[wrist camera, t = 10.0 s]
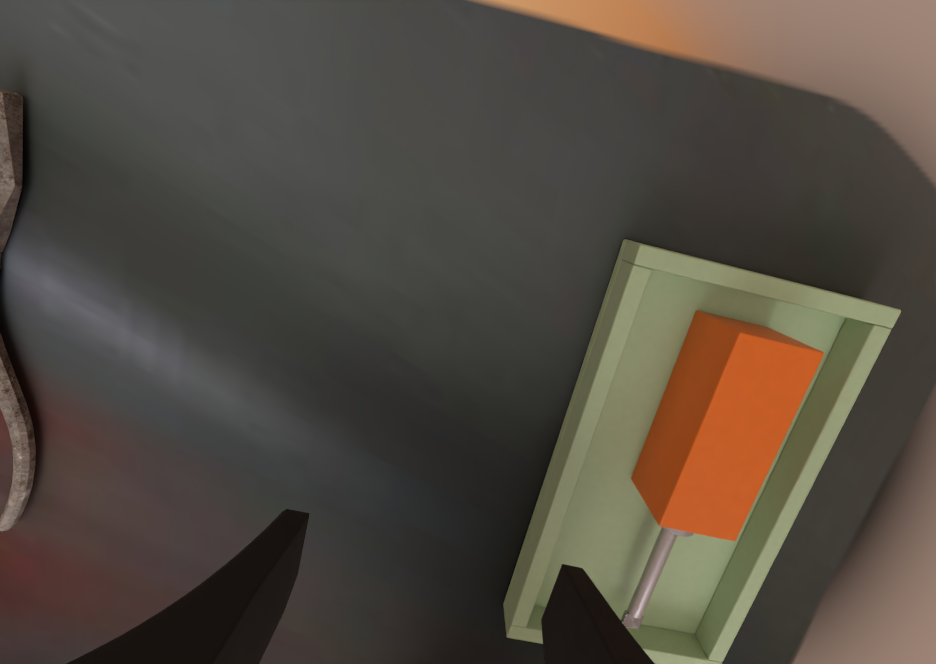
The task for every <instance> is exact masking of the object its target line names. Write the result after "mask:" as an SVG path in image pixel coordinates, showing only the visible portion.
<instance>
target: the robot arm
mask: <svg viewBox="0 0 936 664" xmlns="http://www.w3.org/2000/svg"><path fill="white" fill-rule="evenodd" d="M308 518H309V513H304V512H299V511H294V510H289V509H286V510H284V511H283V512H281V514H280V515H279V516H278V517H277V518H276V519H275V520H274V521H273V522H272V523H271V524H270V525H269V526H268V527H267V528H266V529H265V530H264V531H263V532H262V533H261V534H260V535H259V536H257V537H256V538H255V539H254V540H253V541H252V542H251V543H250V544H249V545H248V546H246V547H245V548H244V549H243V550H242V551H241V552H240V553H238V554H237V555H236V556H235V557H234V558H233V559H232V560H230V561H229V562H228V563H227V564H226V565H224V566H223V567H222V568H220V569H219V570H218V571H217V572H215V573H214V574H213V575H212V576H210V577H209V578H208V579H207V580H205V581H204V582H203V583H201V584H200V585H199V586H197V587H196V588H195V589H193V590H192V591H190V592H189V593H188V594H186V595H185V596H183V597H182V598H180V599H179V600H178V601H176V602H175V603H173V604H172V605H170V606H169V607H167V608H166V609H164V610H163V611H161V612H159V613H158V614H156V615H154V616H153V617H151V618H150V619H148V620H146V621H145V622H143V623H141V624H140V625H138V626H137V627H135V628H133V629H131V630H130V631H128V632H126V633H125V634H123V635H121V636H119V637H117V638H116V639H114V640H112V641H110V642H108V643H106V644H104V645H102V646H100V647H98V648H96V649H94V650H93V651H91V652H89V653H87V654H85V655H83V656H81V657H79V658H77V659H75V660H73V661H71V662H69V663H67V664H259V662H260V660H261V658H262V656H263V654H264V652H265V650H266V648H267V646H268V644H269V642H270V640H271V638H272V635H273V633H274V631H275V629H276V627H277V625H278V623H279V621H280V619H281V617H282V615H283V613H284V610H285V607H286V605H287V602H288V599H289V597H290V594H291V591H292V588H293V586H294V583H295V580H296V577H297V575H298V570H299V565H300V560H301V554H302V549H303V544H304V539H305V534H306V529H307V523H308ZM541 624H542V638H543V649H544V660H545V664H655V663H654V662H653V661H652V660H651V659H650V657H649V656H648V655H647V654H646V653H645V651H644V650H643V649H642V648H641V646H640V645H639V644H638V643H637V641H636V640H635V639H634V637H633V636H632V635H631V634H630V632H629V631H628V630H627V628H626V627H625V626H624V624H623V623H622V622H621V620H620V619H619V618H618V616H617V615H616V613H615V612H614V611H613V609H612V608H611V607H610V605H609V604H608V602H607V601H606V600H605V598H604V597H603V595H602V594H601V593H600V591H599V590H598V588H597V587H596V586H595V584H594V583H593V581H592V580H591V579H590V577H589V576H588V575H587V573H586V572H585V571H584V569H583V568H580V567H575V566H570V565H565V564H562V566H561V568H560V571H559V574H558V576H557V579H556V582H555V584H554V587H553V590H552V592H551V595H550V598H549V600H548V603H547V606H546V608H545V611H544V614H543V616H542V619H541Z"/></svg>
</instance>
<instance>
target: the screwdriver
mask: <svg viewBox="0 0 936 664" xmlns="http://www.w3.org/2000/svg"><path fill="white" fill-rule="evenodd" d="M823 356H824V352H822V351H820V350H818V349H815V348H813V347H811V346H809V345H807V344H804V343H802V342H800V341H798V340H795V339H793V338H791V337H789V336H786V335H784V334H782V333H780V332H777V331H775V330H773V329H771V328H768V327H764V326H760V325H756V324H752V323H748V322H744V321H740V320H736V319H731V318H727V317H723V316H719V315H715V314H711V313H707V312H703V311H699V310H697V311H696V312H695V314H694V317H693V320H692V322H691V325H690V327H689V330H688V332H687V335H686V338H685V340H684V343H683V345H682V348H681V351H680V353H679V356H678V358H677V361H676V363H675V366H674V369H673V371H672V374H671V376H670V379H669V382H668V384H667V387H666V389H665V392H664V394H663V397H662V400H661V402H660V405H659V407H658V410H657V413H656V415H655V418H654V420H653V423H652V426H651V428H650V431H649V433H648V436H647V438H646V441H645V444H644V446H643V449H642V451H641V454H640V457H639V459H638V462H637V464H636V467H635V469H634V472H633V475H632V477H631V480H632V482H633V483H634V485H635V487H636V488H637V490H638V492H639V493H640V495H641V497H642V498H643V500H644V502H645V503H646V505H647V507H648V508H649V510H650V512H651V513H652V515H653V517H654V519H655V520H656V522H657V523H658V525H659V526H661V527H662V528H661V530H660V533H659V535H658V537H657V540H656V542H655V544H654V547H653V549H652V552H651V554H650V556H649V559H648V561H647V564H646V566H645V568H644V571H643V573H642V575H641V578H640V580H639V583H638V585H637V587H636V590H635V592H634V594H633V597H632V599H631V602H630V604H629V606H628V610H625V611H624V613H623V616H622V618H621V622H622V623H623V624H624V626H625V627H627V628H633V629H639V627H640V625H641V623H642V621H643V618H644V616H643V614H644V611H645V609H646V607H647V605H648V602H649V600H650V598H651V595H652V593H653V591H654V588H655V586H656V584H657V582H658V579H659V577H660V575H661V572H662V570H663V568H664V565H665V563H666V561H667V558H668V556H669V554H670V552H671V549H672V547H673V545H674V542H675V540H676V538H677V535H678V536H683V537H690V536H692V535H693V534H694V533H696V534H701V535H706V536H711V537H716V538H721V539H726V540H731V541H736V539H737V537H738V535H739V533H740V530H741V528H742V526H743V524H744V522H745V520H746V518H747V516H748V514H749V511H750V509H751V507H752V505H753V503H754V501H755V499H756V497H757V495H758V493H759V490H760V488H761V486H762V484H763V482H764V480H765V478H766V476H767V474H768V471H769V469H770V467H771V465H772V463H773V461H774V459H775V457H776V455H777V453H778V450H779V448H780V446H781V444H782V442H783V440H784V438H785V436H786V434H787V431H788V429H789V427H790V425H791V423H792V421H793V419H794V417H795V415H796V413H797V410H798V408H799V406H800V404H801V402H802V400H803V398H804V396H805V394H806V391H807V389H808V387H809V385H810V383H811V381H812V379H813V377H814V375H815V373H816V370H817V368H818V366H819V364H820V362H821V360H822V358H823Z"/></svg>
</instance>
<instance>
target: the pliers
mask: <svg viewBox="0 0 936 664" xmlns="http://www.w3.org/2000/svg"><path fill="white" fill-rule="evenodd" d="M22 166H23V97H22V96H21V95H19V94H18V93H15V92H10V91H6V90H1V89H0V267H1V252H3V250H4V247H5V244H6V242H7V239H8V237H9V234H10V231H11V228H12V224H13V220H14V216H15V212H16V208H17V205H18V201H19V197H20V193H21V189H22ZM0 408H1V411H2V413H3V416H4V418H5V421H6V424H7V426H8V429H9V433H10V438H11V443H12V447H13V466H14V467H13V479H12V487H11V491H10V494H9V498H8V502H7V504H6V506H5V508H4V511H3V513H2V515H1V518H0V531H5V530H9V529H10V528H12V527H13V526H14V525H15V524H16V523H17V521H18V520H19V518H20V517H21V515H22V513H23V511H24V509H25V506H26V504H27V502H28V499H29V495H30V492H31V489H32V485H33V478H34V472H35V457H36V445H35V437H34V430H33V424H32V420H31V417H30V413H29V410H28V406H27V403H26V401H25V398H24V396H23V393H22V391H21V388H20V385H19V383H18V380H17V377H16V375H15V372H14V370H13V367H12V364H11V362H10V359H9V356H8V354H7V351H6V349H5V346H4V342H3V339H2V336H1V333H0Z"/></svg>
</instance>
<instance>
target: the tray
mask: <svg viewBox="0 0 936 664" xmlns="http://www.w3.org/2000/svg"><path fill="white" fill-rule="evenodd" d="M697 310H699V311H703V312H707V313H711V314H715V315H719V316H723V317H727V318H731V319H736V320H740V321H744V322H748V323H752V324H756V325H760V326H764V327H768V328H771V329H773V330H775V331H777V332H780V333H782V334H784V335H786V336H789V337H791V338H793V339H795V340H798V341H800V342H802V343H804V344H807V345H809V346H811V347H813V348H815V349H818V350H820V351H822V352H824V356H823V358H822V360H821V362H820V364H819V366H818V368H817V370H816V373H815V375H814V377H813V379H812V381H811V383H810V385H809V387H808V389H807V391H806V394H805V396H804V398H803V400H802V402H801V404H800V406H799V408H798V410H797V413H796V415H795V417H794V419H793V421H792V423H791V425H790V427H789V429H788V431H787V434H786V436H785V438H784V440H783V442H782V444H781V446H780V448H779V450H778V453H777V455H776V457H775V459H774V461H773V463H772V465H771V467H770V469H769V471H768V474H767V476H766V478H765V480H764V482H763V484H762V486H761V488H760V490H759V493H758V495H757V497H756V499H755V501H754V503H753V505H752V507H751V509H750V511H749V514H748V516H747V518H746V520H745V522H744V524H743V526H742V528H741V530H740V533H739V535H738V537H737V539H736V541H731V540H726V539H721V538H716V537H711V536H706V535H701V534H696V533H694V534H693V535H692V536H690V537H683V536H678V535H677V538H676V540H675V542H674V545H673V547H672V549H671V552H670V554H669V556H668V558H667V561H666V563H665V565H664V568H663V570H662V572H661V575H660V577H659V579H658V582H657V584H656V586H655V588H654V591H653V593H652V595H651V598H650V600H649V602H648V605H647V607H646V609H645V611H644V614H643V616H644V618H643V621H642V623H641V625H640V627H639V629H633V628H627V627H626V628H627V630H628V631H629V632H630V634H631V635H632V636H633V637H634V639H635V640H636V641H637V643H638V644H639V645H640V646H641V648H642V649H643V650H644V651H645V653H646V654H647V655H648V656H649V657H650V659H651V660H652V661H653V662H654V663H656V664H722V661H723V660H724V658H725V656H726V654H727V652H728V650H729V648H730V646H731V644H732V642H733V640H734V638H735V636H736V634H737V632H738V630H739V629H740V627H741V625H742V623H743V621H744V619H745V617H746V615H747V613H748V611H749V609H750V607H751V605H752V603H753V601H754V599H755V597H756V595H757V593H758V591H759V589H760V587H761V585H762V583H763V581H764V579H765V577H766V575H767V573H768V571H769V570H770V568H771V566H772V564H773V562H774V560H775V558H776V556H777V554H778V552H779V550H780V548H781V546H782V544H783V542H784V540H785V538H786V536H787V534H788V532H789V530H790V528H791V526H792V524H793V522H794V520H795V518H796V516H797V514H798V512H799V510H800V509H801V507H802V505H803V503H804V501H805V499H806V497H807V495H808V493H809V491H810V489H811V487H812V485H813V483H814V481H815V479H816V477H817V475H818V473H819V471H820V469H821V467H822V465H823V463H824V461H825V459H826V457H827V455H828V453H829V451H830V450H831V448H832V446H833V444H834V442H835V440H836V438H837V436H838V434H839V432H840V430H841V428H842V426H843V424H844V422H845V420H846V418H847V416H848V414H849V412H850V410H851V408H852V406H853V404H854V402H855V400H856V398H857V396H858V394H859V392H860V390H861V389H862V387H863V385H864V383H865V381H866V379H867V377H868V375H869V373H870V371H871V369H872V367H873V365H874V363H875V361H876V359H877V357H878V355H879V353H880V351H881V349H882V347H883V345H884V343H885V341H886V339H887V337H888V335H889V333H890V331H891V329H890V328H893V326H894V324H895V322H896V320H897V318H898V316H899V314H900V312H901V310H900V309H896V308H892V307H889V306H885V305H881V304H878V303H874V302H870V301H867V300H863V299H859V298H855V297H851V296H847V295H843V294H839V293H835V292H832V291H828V290H824V289H820V288H816V287H812V286H808V285H804V284H800V283H796V282H792V281H788V280H784V279H780V278H776V277H772V276H768V275H764V274H761V273H757V272H753V271H749V270H745V269H741V268H737V267H733V266H729V265H725V264H721V263H717V262H713V261H709V260H705V259H701V258H697V257H693V256H690V255H686V254H682V253H678V252H674V251H670V250H666V249H662V248H658V247H654V246H650V245H646V244H642V243H638V242H634V241H630V240H626V239H624V240H623V242H622V246H621V249H620V252H619V255H618V258H617V261H616V264H615V267H614V270H613V273H612V276H611V279H610V282H609V285H608V288H607V291H606V294H605V297H604V300H603V303H602V306H601V309H600V312H599V315H598V318H597V321H596V324H595V327H594V330H593V333H592V336H591V339H590V343H589V346H588V349H587V352H586V355H585V358H584V361H583V364H582V367H581V370H580V373H579V376H578V379H577V382H576V385H575V388H574V391H573V394H572V397H571V400H570V403H569V406H568V409H567V412H566V415H565V418H564V421H563V424H562V427H561V430H560V433H559V437H558V440H557V443H556V446H555V449H554V452H553V455H552V458H551V461H550V464H549V467H548V470H547V473H546V476H545V479H544V482H543V485H542V488H541V491H540V494H539V497H538V500H537V503H536V506H535V509H534V512H533V515H532V518H531V521H530V524H529V527H528V530H527V534H526V537H525V540H524V543H523V546H522V549H521V552H520V555H519V558H518V561H517V564H516V567H515V570H514V573H513V576H512V579H511V582H510V585H509V588H508V591H507V594H506V597H505V600H504V603H503V608H504V617H505V626H506V635H507V638H512V639H518V640H524V641H529V642H535V643H541V644H543V638H542V624H541V619H542V616H543V614H544V611H545V608H546V606H547V603H548V600H549V598H550V595H551V592H552V590H553V587H554V584H555V582H556V579H557V576H558V574H559V571H560V568H561V566H562V564H565V565H570V566H575V567H580V568H583V569H584V571H585V572H586V573H587V575H588V576H589V577H590V579H591V580H592V581H593V583H594V584H595V586H596V587H597V588H598V590H599V591H600V593H601V594H602V595H603V597H604V598H605V600H606V601H607V602H608V604H609V605H610V607H611V608H612V609H613V611H614V612H615V613H616V615H617V616H618V618H619V619H620V620H621V618H622V616H623V613H624V611H625V610H628V606H629V604H630V602H631V599H632V597H633V594H634V592H635V590H636V587H637V585H638V583H639V580H640V578H641V575H642V573H643V571H644V568H645V566H646V564H647V561H648V559H649V556H650V554H651V552H652V549H653V547H654V544H655V542H656V540H657V537H658V535H659V533H660V530H661V528H662V527H661V526H659V525H658V523H657V522H656V520H655V519H654V517H653V515H652V513H651V512H650V510H649V508H648V507H647V505H646V503H645V502H644V500H643V498H642V497H641V495H640V493H639V492H638V490H637V488H636V487H635V485H634V483H633V482H632V480H631V477H632V475H633V472H634V469H635V467H636V464H637V462H638V459H639V457H640V454H641V451H642V449H643V446H644V444H645V441H646V438H647V436H648V433H649V431H650V428H651V426H652V423H653V420H654V418H655V415H656V413H657V410H658V407H659V405H660V402H661V400H662V397H663V394H664V392H665V389H666V387H667V384H668V382H669V379H670V376H671V374H672V371H673V369H674V366H675V363H676V361H677V358H678V356H679V353H680V351H681V348H682V345H683V343H684V340H685V338H686V335H687V332H688V330H689V327H690V325H691V322H692V320H693V317H694V314H695V312H696V311H697Z"/></svg>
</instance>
